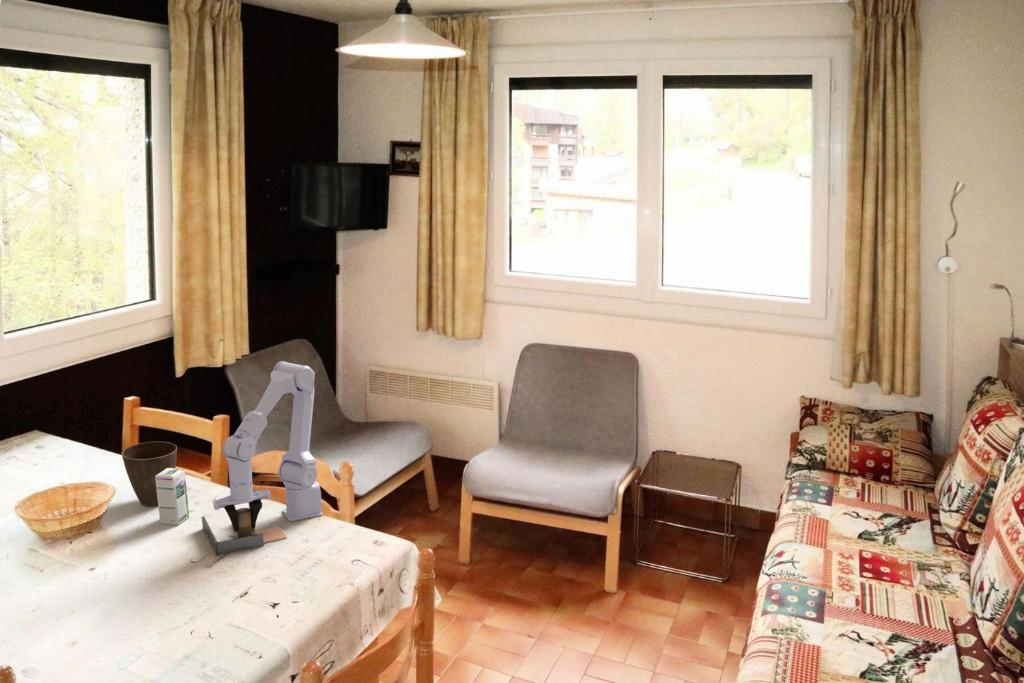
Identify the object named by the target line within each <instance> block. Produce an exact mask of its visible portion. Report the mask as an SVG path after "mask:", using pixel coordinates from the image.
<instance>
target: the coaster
mask: <svg viewBox="0 0 1024 683" xmlns="http://www.w3.org/2000/svg"><path fill="white" fill-rule="evenodd" d="M259 533H263V542H264V544H267V543H271V542H276V541H275V540H277V541H281V540H280V539H282V540H286V538H288V537H287V536H286V534H285V533H284V531H283V530H282V528H281V527H280V526H277V527H273V528H269V529H264V530H262V529H261V530H259V531H255V532H253V535H254V534H259Z"/></svg>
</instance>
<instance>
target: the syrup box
mask: <svg viewBox="0 0 1024 683" xmlns="http://www.w3.org/2000/svg"><path fill="white" fill-rule="evenodd" d="M185 471H186V470H185V469H183V468H177V467H176V468H166V469H165V470H164V471H162V472H161V473H159V474H158V475H156V476H155V479H156V488H157V498H158V506H157V507H158V513H159V523H160V524H163V525H170V526H179V525H180V524H181V523H183V522H184V521H186V520H187V519H188V518H189V517H190V512H189V510H190V509H189V501H188V493H187V492H188V491H187V490H188V489H187V483H186V482H187V481H186V472H185Z"/></svg>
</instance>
